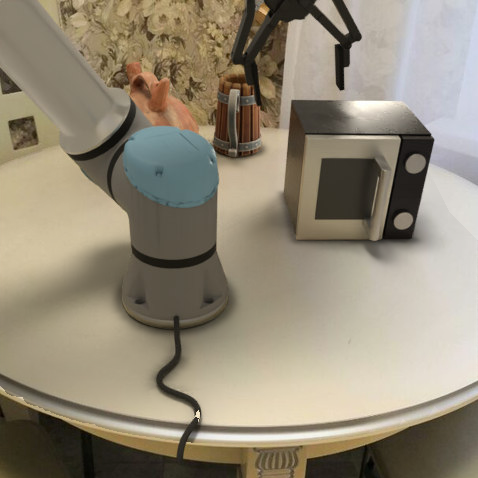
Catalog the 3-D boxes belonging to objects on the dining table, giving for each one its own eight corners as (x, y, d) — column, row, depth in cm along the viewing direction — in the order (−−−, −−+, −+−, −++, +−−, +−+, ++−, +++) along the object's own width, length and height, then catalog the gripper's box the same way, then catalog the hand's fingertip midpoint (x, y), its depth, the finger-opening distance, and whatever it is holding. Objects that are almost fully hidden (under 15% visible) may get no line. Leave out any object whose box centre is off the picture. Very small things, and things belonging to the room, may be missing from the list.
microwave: (413, 241, 105) (436, 139, 94) (297, 242, 104) (307, 138, 93) (385, 193, 120) (403, 101, 109) (283, 193, 118) (291, 99, 108)
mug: (217, 137, 141) (218, 69, 132) (263, 141, 140) (267, 73, 131) (204, 164, 128) (205, 91, 119) (255, 169, 127) (259, 96, 118)
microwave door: (389, 255, 101) (411, 152, 90) (301, 256, 100) (312, 152, 89) (379, 234, 106) (398, 135, 96) (295, 235, 105) (305, 134, 95)
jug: (215, 178, 123) (216, 75, 111) (130, 196, 115) (122, 87, 104) (175, 146, 136) (172, 51, 124) (96, 160, 128) (85, 60, 116)
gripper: (368, -72, 89) (367, 71, 103) (198, -40, 89) (221, 99, 103) (384, -61, 84) (381, 89, 98) (203, -27, 83) (226, 119, 98)
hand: (299, 95), depth 101 cm, fingers open, 13 cm apart
